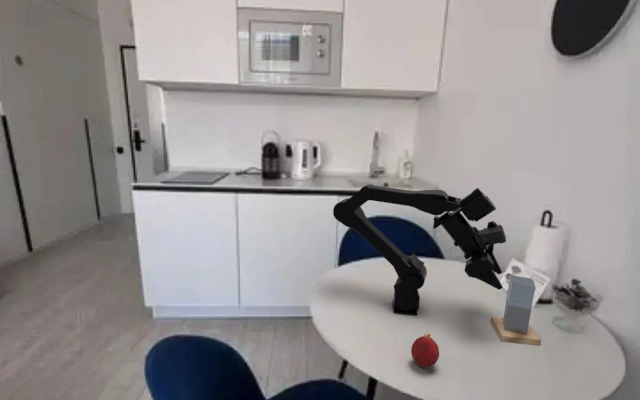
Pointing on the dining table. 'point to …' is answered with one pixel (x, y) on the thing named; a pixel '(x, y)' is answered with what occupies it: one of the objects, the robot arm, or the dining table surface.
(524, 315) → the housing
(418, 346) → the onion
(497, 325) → the cork pad
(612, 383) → the dining table surface
